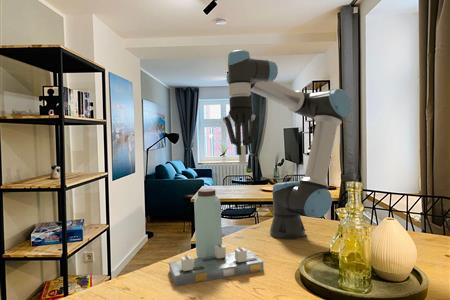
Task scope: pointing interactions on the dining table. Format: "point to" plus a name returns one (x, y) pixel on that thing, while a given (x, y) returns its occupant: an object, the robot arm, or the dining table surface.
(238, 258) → the switch
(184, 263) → the switch
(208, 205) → the water bottle
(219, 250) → the switch
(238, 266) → the console
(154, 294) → the dining table surface
